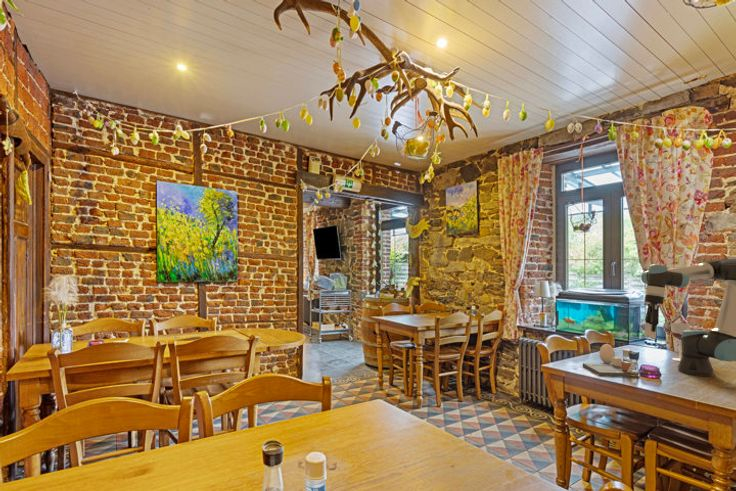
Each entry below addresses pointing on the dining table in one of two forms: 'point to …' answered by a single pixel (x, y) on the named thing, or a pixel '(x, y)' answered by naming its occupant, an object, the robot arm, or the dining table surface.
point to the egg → (606, 353)
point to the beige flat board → (607, 369)
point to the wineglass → (678, 334)
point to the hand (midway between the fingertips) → (649, 337)
